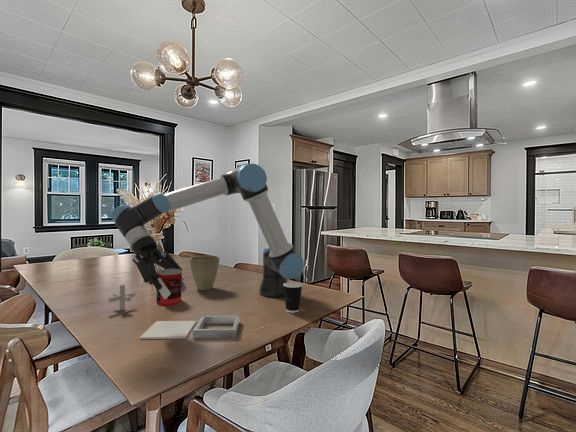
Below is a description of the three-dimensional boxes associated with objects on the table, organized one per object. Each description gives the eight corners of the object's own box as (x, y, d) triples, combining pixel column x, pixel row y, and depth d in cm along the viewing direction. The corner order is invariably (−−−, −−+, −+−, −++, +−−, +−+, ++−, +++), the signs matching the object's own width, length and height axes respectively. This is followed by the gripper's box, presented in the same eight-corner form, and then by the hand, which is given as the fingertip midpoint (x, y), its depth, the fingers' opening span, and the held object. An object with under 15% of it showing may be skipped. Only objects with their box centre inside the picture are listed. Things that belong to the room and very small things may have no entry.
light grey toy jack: (116, 315, 117) (116, 289, 117) (102, 310, 122) (102, 285, 122) (141, 308, 126) (141, 284, 125) (127, 304, 131) (127, 280, 131)
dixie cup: (301, 308, 129) (302, 282, 129) (302, 314, 121) (303, 286, 121) (283, 307, 129) (283, 281, 129) (282, 314, 121) (282, 286, 121)
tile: (195, 322, 111) (195, 320, 111) (185, 338, 97) (185, 336, 97) (156, 322, 110) (156, 321, 110) (139, 339, 96) (139, 337, 96)
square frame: (239, 322, 112) (239, 315, 112) (235, 337, 98) (235, 330, 98) (202, 322, 111) (202, 315, 111) (192, 338, 97) (192, 330, 97)
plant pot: (184, 288, 159) (184, 257, 159) (210, 283, 169) (211, 254, 169) (197, 294, 148) (198, 261, 148) (224, 289, 158) (225, 258, 158)
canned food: (160, 299, 107) (160, 268, 107) (184, 299, 107) (184, 268, 107) (152, 306, 99) (153, 273, 99) (178, 306, 100) (178, 273, 100)
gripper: (158, 246, 118) (191, 292, 112) (109, 252, 99) (146, 308, 93) (169, 233, 116) (203, 279, 110) (121, 237, 97) (159, 293, 91)
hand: (177, 293), depth 102 cm, fingers closed on canned food, 8 cm apart
